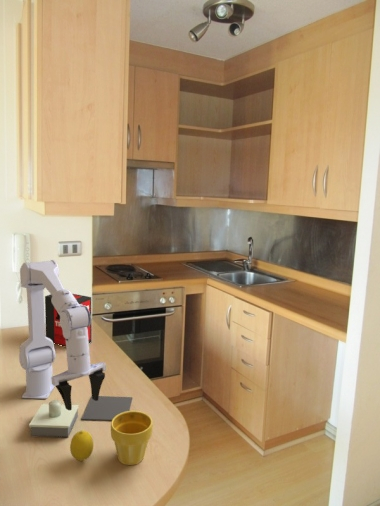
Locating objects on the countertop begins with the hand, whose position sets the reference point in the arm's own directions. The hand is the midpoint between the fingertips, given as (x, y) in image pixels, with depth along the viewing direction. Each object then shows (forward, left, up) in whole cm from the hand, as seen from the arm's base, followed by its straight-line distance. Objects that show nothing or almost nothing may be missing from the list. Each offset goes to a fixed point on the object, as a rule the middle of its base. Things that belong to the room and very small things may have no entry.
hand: (82, 404), depth 111 cm
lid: (-6, -9, -8) cm, 14 cm away
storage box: (-6, -9, -11) cm, 15 cm away
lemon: (+8, +2, -11) cm, 13 cm away
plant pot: (+6, +14, -11) cm, 18 cm away
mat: (-16, +4, -11) cm, 20 cm away
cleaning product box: (-66, -22, -11) cm, 71 cm away
